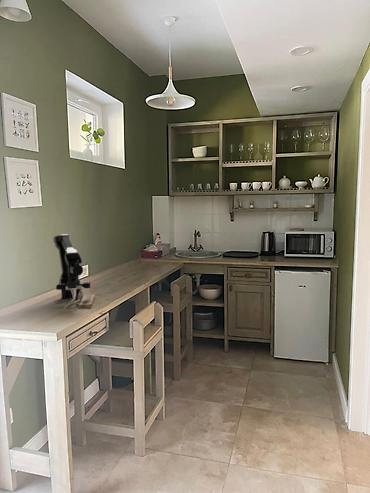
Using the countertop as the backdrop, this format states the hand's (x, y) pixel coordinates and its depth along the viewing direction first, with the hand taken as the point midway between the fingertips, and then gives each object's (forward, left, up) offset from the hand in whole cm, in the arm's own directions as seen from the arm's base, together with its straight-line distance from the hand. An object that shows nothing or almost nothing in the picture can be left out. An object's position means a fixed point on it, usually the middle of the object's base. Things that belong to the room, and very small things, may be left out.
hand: (74, 300), depth 220 cm
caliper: (-1, -1, -2) cm, 2 cm away
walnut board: (+7, -1, -1) cm, 7 cm away
